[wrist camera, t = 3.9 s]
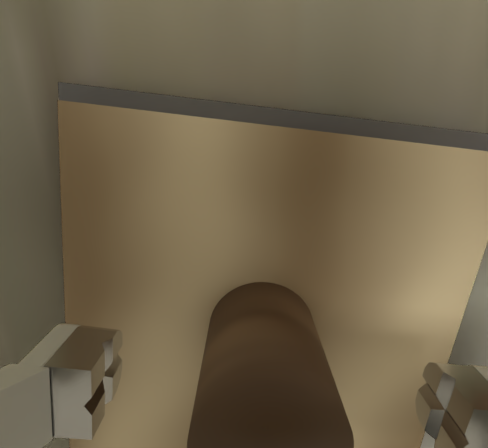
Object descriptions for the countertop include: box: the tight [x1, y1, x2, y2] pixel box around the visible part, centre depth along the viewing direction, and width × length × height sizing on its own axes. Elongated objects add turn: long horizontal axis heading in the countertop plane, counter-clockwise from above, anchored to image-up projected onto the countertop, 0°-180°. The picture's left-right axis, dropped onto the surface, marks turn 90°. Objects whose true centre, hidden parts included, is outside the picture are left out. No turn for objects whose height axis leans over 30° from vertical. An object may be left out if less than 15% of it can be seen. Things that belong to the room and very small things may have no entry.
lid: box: [57, 100, 488, 448], centre depth 9 cm, size 12×12×5 cm
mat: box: [58, 82, 488, 151], centre depth 12 cm, size 13×13×1 cm
